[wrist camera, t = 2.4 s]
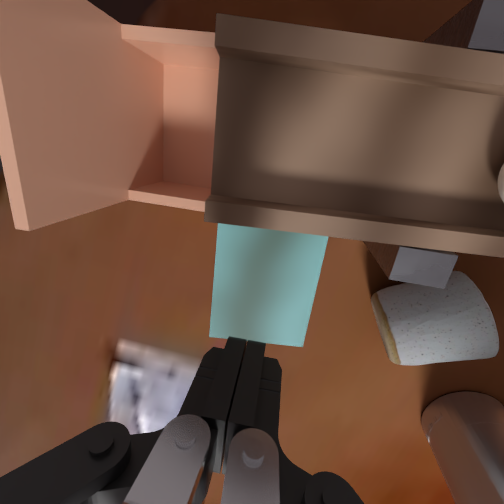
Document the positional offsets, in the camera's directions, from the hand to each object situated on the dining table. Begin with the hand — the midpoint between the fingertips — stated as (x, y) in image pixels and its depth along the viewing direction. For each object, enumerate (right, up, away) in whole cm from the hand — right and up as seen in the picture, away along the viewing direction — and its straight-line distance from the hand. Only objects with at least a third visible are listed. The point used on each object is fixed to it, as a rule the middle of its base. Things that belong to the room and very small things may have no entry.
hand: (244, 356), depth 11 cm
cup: (-3, +15, +15) cm, 22 cm away
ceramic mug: (+18, -2, +19) cm, 26 cm away
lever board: (+8, +8, +11) cm, 16 cm away
